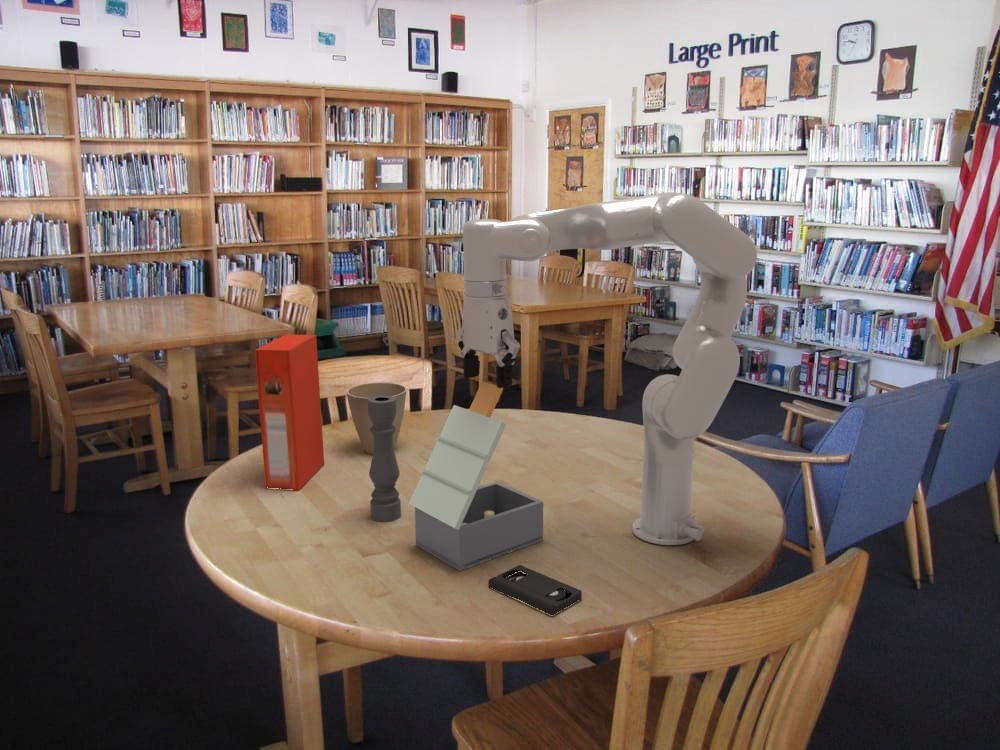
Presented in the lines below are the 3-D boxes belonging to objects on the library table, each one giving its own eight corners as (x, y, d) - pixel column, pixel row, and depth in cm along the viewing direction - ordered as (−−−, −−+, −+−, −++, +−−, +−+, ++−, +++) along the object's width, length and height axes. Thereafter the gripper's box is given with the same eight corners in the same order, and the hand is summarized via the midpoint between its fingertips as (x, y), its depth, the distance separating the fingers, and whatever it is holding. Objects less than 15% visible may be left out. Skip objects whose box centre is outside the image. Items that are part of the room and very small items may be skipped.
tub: (542, 540, 164) (543, 501, 162) (459, 571, 151) (459, 529, 150) (497, 518, 174) (496, 481, 172) (415, 544, 162) (414, 505, 160)
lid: (520, 393, 153) (514, 390, 152) (459, 529, 149) (453, 527, 148) (471, 378, 163) (465, 375, 162) (413, 505, 160) (407, 503, 159)
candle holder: (405, 511, 178) (402, 396, 172) (394, 523, 172) (390, 404, 166) (378, 508, 179) (373, 394, 173) (365, 520, 173) (361, 402, 167)
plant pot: (355, 440, 224) (353, 382, 220) (412, 441, 223) (410, 382, 219) (343, 459, 209) (340, 397, 205) (403, 460, 209) (401, 397, 205)
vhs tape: (582, 601, 142) (582, 590, 141) (552, 619, 136) (552, 608, 136) (519, 574, 151) (519, 564, 151) (488, 590, 146) (488, 579, 145)
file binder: (264, 489, 190) (254, 349, 182) (292, 463, 207) (284, 334, 199) (299, 491, 189) (290, 350, 181) (324, 464, 206) (317, 335, 198)
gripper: (533, 292, 148) (534, 387, 152) (472, 282, 161) (474, 370, 165) (499, 296, 143) (501, 394, 147) (440, 286, 156) (443, 377, 161)
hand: (487, 381), depth 156 cm, fingers open, 9 cm apart
